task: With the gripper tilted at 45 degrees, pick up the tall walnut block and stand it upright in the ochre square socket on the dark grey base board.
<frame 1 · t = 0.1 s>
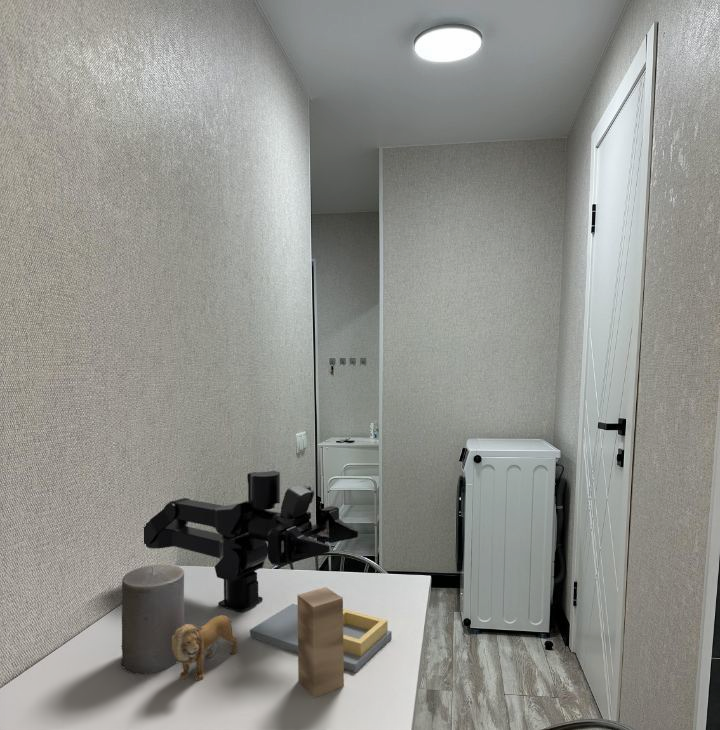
hand: (344, 541, 93), 17 cm above the table, tool horizontal, fingers open, 9 cm apart
walnut column: (320, 683, 78), on the table
base board: (320, 637, 92), on the table
lion figurine: (206, 670, 83), on the table
pillar candle: (154, 658, 86), on the table
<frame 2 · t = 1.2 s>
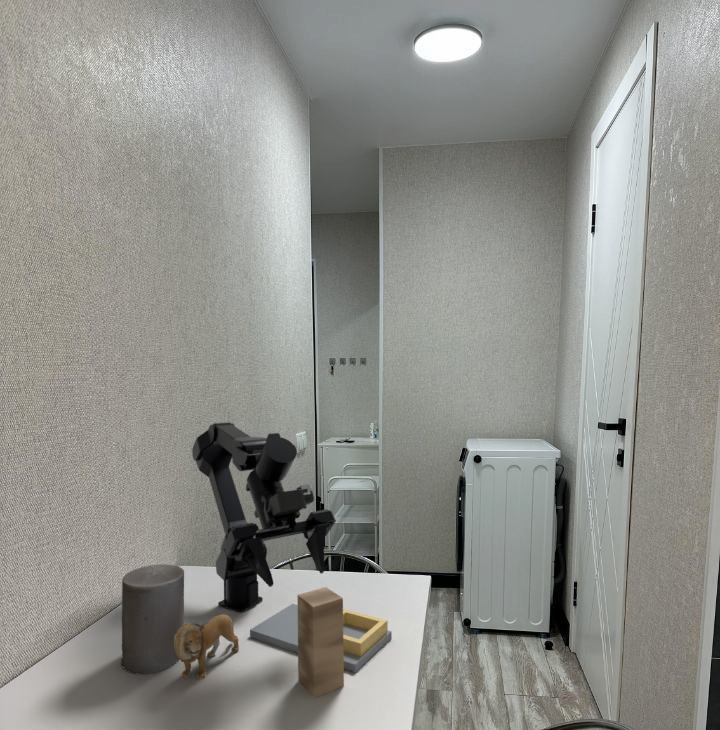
hand: (298, 578, 85), 13 cm above the table, tool tilted 45°, fingers open, 9 cm apart
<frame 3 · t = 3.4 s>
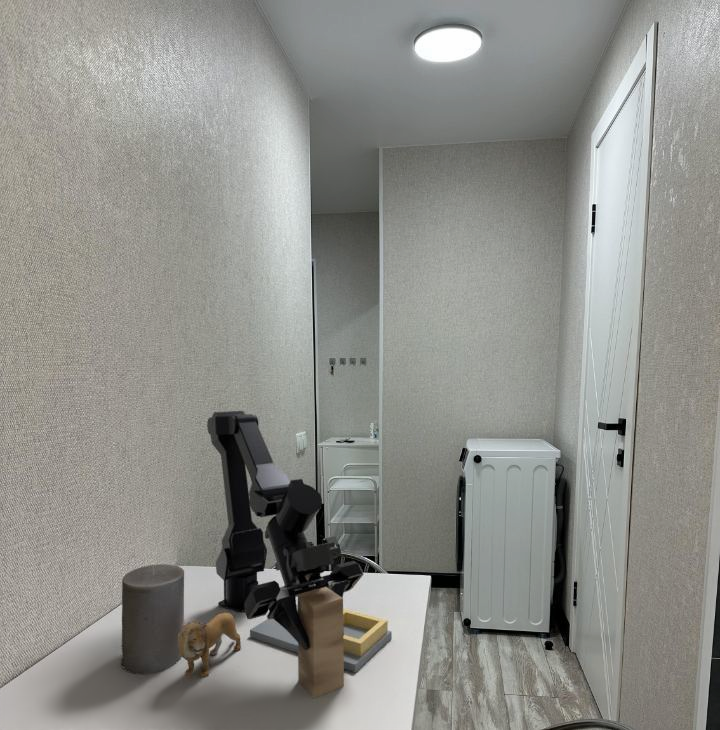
hand: (325, 643, 77), 7 cm above the table, tool tilted 45°, fingers closed on walnut column, 5 cm apart
walnut column: (320, 683, 78), on the table, touching gripper
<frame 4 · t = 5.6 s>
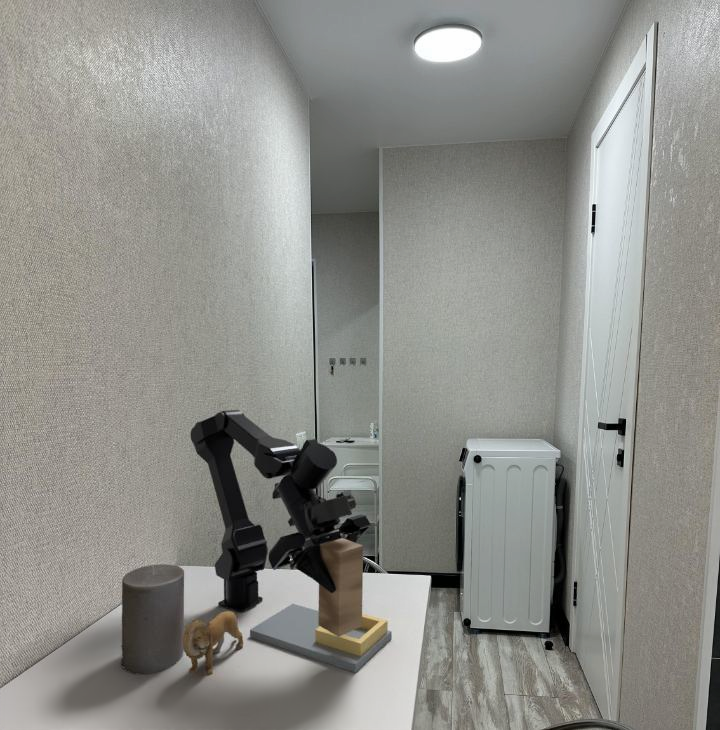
hand: (346, 586, 84), 12 cm above the table, tool tilted 45°, fingers closed on walnut column, 5 cm apart
walnut column: (340, 625, 85), point 6 cm above the table, touching gripper
when the fingers open (9 cm above the table, at t = 7.8 s): walnut column stays where it is, resting on base board.
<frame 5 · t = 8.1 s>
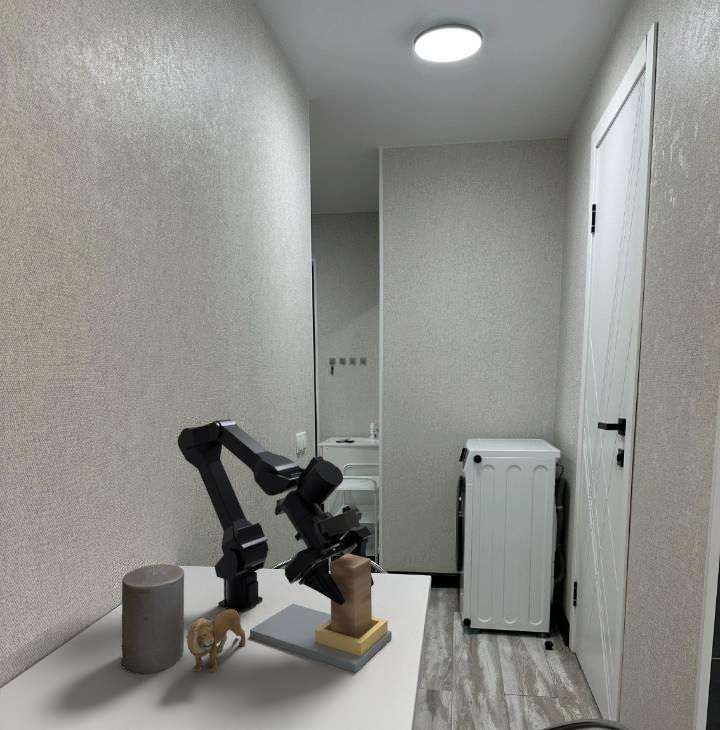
hand: (358, 594, 89), 9 cm above the table, tool tilted 45°, fingers open, 8 cm apart
walnut column: (351, 636, 90), point 1 cm above the table, touching base board
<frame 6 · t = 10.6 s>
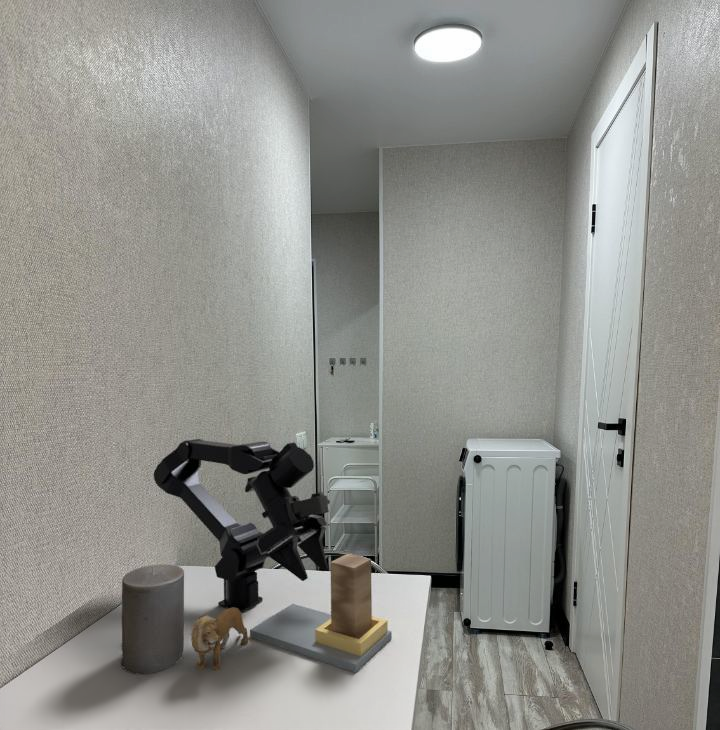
hand: (315, 574, 96), 10 cm above the table, tool tilted 35°, fingers open, 9 cm apart
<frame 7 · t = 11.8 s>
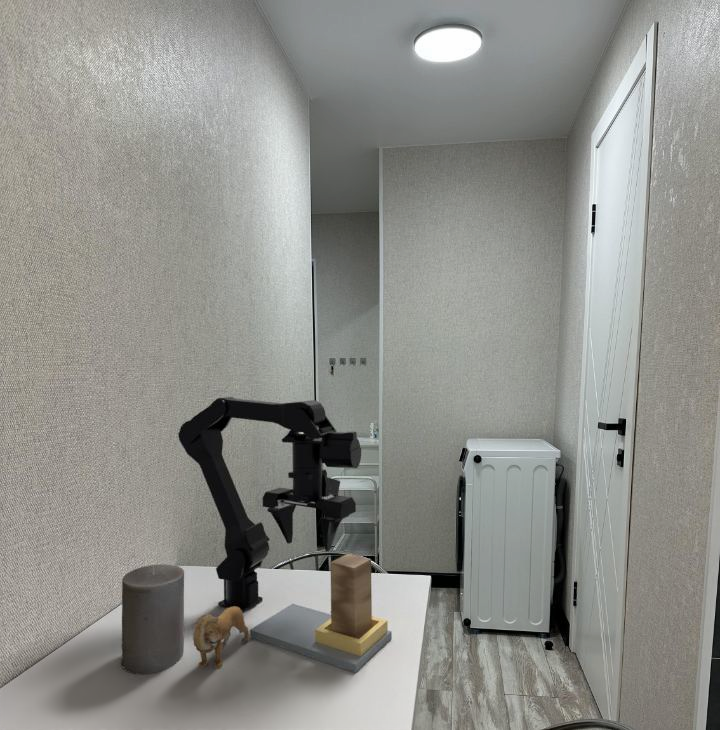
hand: (308, 546, 101), 13 cm above the table, tool pointing down, fingers open, 9 cm apart
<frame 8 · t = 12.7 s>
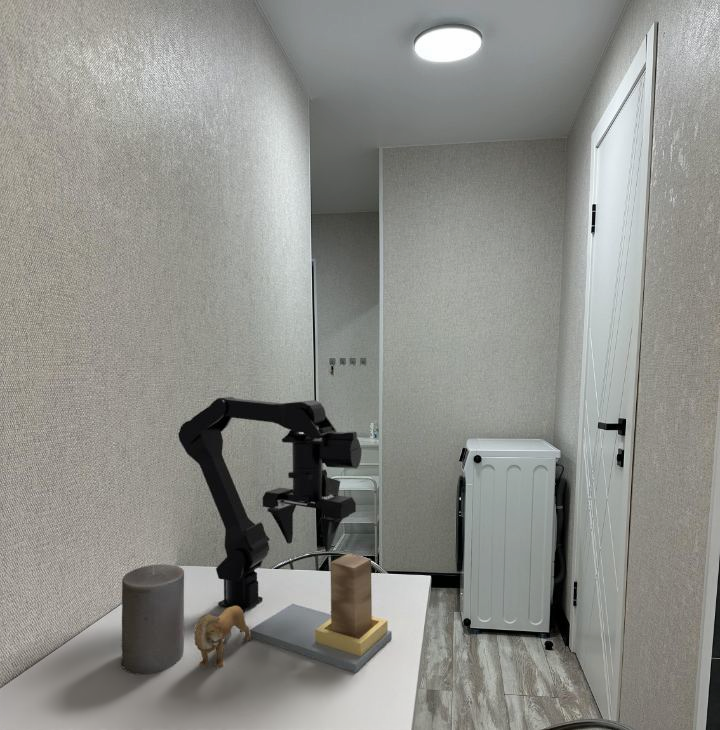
hand: (308, 546, 101), 13 cm above the table, tool pointing down, fingers open, 9 cm apart
at the end: walnut column 0.1 cm from the target spot, point 1.2 cm above the table; walnut column tilted 0°; the gripper is holding nothing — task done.
